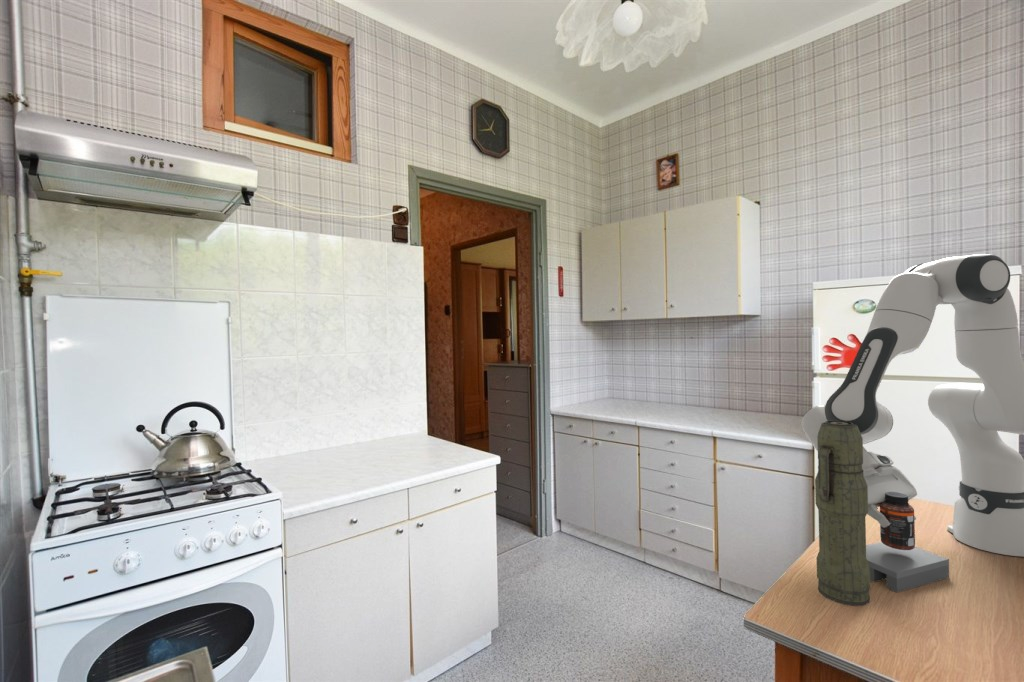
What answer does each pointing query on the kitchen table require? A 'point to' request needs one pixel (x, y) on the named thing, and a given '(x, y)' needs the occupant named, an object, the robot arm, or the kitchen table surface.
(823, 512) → the thermos
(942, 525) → the kitchen table surface
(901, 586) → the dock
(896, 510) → the supplement bottle
